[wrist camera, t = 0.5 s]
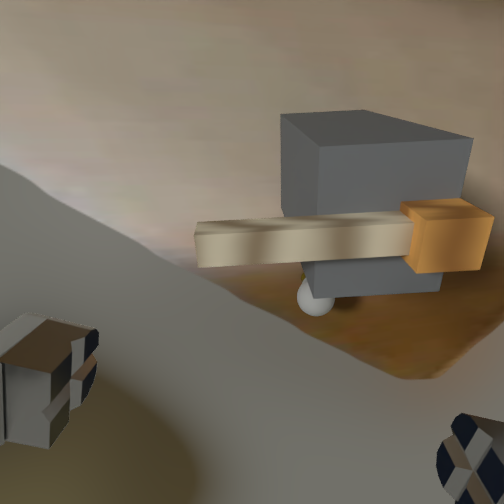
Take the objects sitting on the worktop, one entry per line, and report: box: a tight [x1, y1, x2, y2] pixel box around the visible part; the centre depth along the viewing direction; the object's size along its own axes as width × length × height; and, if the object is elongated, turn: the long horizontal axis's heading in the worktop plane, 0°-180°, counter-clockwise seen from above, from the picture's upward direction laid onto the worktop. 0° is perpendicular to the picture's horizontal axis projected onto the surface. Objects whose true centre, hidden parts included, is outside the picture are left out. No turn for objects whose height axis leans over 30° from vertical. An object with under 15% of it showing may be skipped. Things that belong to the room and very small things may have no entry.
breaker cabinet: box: [281, 110, 474, 299], centre depth 42 cm, size 13×14×26 cm
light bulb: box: [297, 273, 335, 316], centre depth 58 cm, size 6×6×10 cm
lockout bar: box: [194, 198, 495, 274], centre depth 28 cm, size 22×4×4 cm, turn 93°
